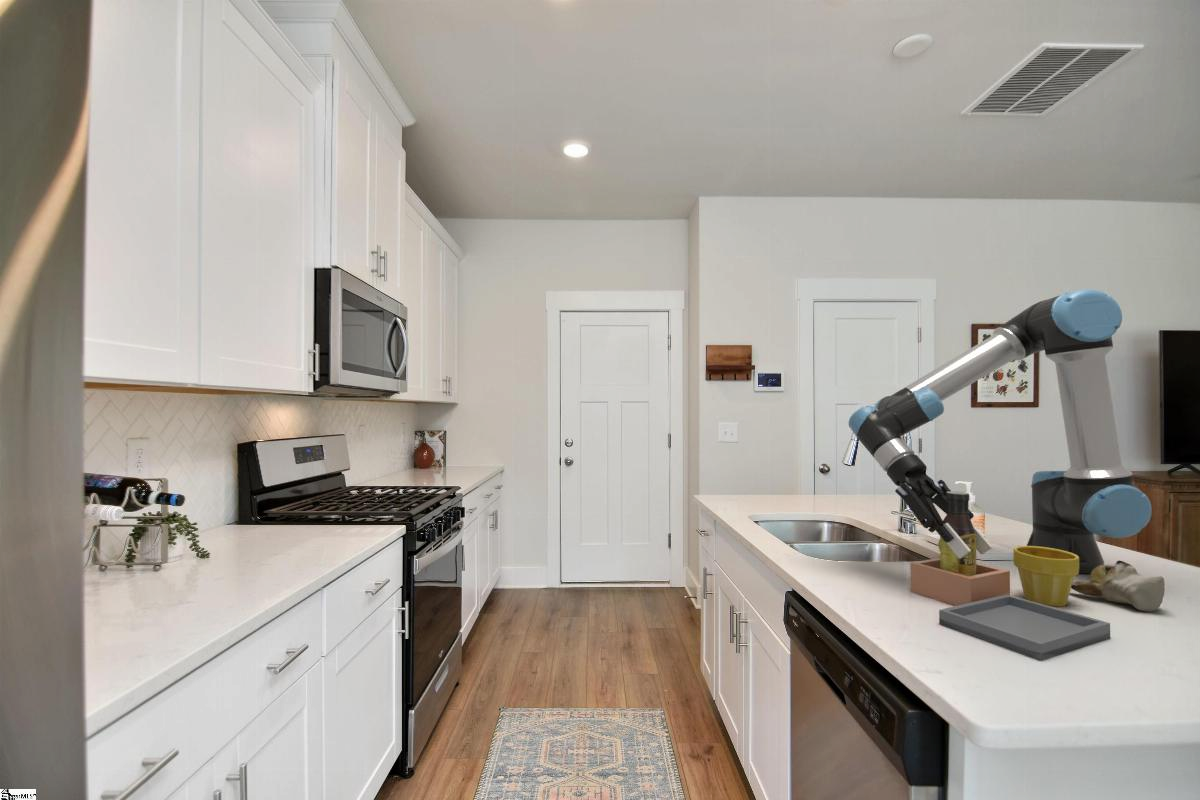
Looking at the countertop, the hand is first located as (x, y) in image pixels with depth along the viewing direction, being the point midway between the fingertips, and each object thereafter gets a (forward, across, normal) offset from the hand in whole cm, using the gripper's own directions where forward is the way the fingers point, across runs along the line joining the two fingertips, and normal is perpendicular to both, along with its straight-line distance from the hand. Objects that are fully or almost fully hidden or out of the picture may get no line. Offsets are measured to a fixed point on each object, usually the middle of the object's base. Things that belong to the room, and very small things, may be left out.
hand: (976, 552), depth 112 cm
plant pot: (+11, -13, -3) cm, 17 cm away
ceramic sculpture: (+16, -25, +1) cm, 30 cm away
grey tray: (+16, +8, +2) cm, 18 cm away
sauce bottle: (+4, 0, -9) cm, 9 cm away
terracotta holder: (+4, 0, -9) cm, 10 cm away
